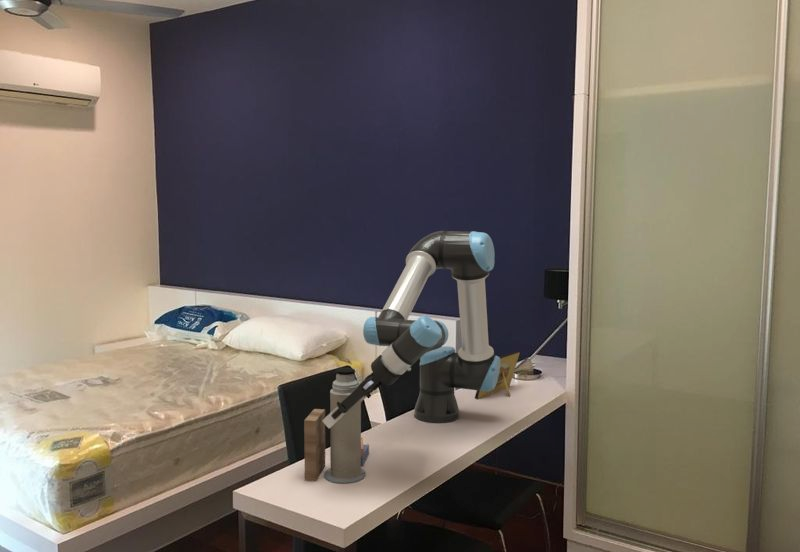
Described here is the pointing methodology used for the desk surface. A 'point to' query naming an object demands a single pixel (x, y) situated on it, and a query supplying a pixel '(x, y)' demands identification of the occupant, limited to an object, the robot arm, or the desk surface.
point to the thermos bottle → (345, 428)
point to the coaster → (343, 481)
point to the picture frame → (503, 374)
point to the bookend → (314, 444)
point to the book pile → (364, 452)
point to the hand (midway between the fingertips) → (336, 416)
